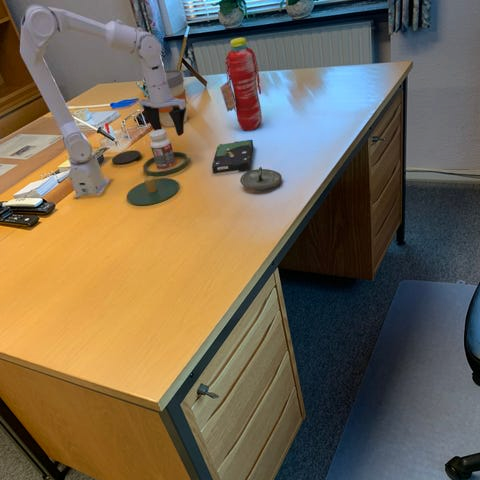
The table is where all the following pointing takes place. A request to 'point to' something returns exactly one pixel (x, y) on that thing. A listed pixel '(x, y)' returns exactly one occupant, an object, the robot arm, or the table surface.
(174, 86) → the reusable coffee cup
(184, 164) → the dark green open loop
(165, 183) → the tin lid
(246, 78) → the water bottle
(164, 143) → the pill bottle
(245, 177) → the lid
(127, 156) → the stand
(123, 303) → the table surface
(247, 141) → the disk drive
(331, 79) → the table surface
